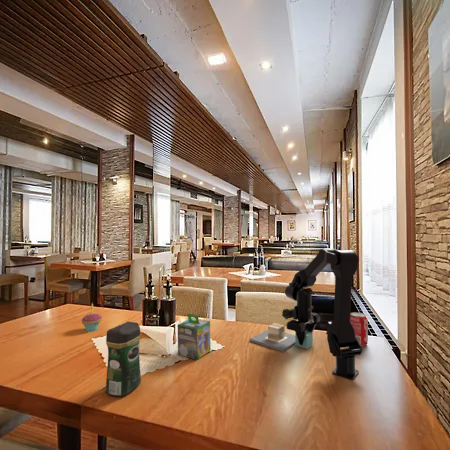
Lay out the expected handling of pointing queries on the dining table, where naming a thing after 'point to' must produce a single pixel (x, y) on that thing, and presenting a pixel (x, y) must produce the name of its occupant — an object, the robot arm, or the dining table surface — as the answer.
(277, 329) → the birch cube
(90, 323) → the cupcake
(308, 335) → the teal cube
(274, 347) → the slate board
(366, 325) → the soda can
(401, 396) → the dining table surface
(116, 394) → the coffee jar
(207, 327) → the chalk box
